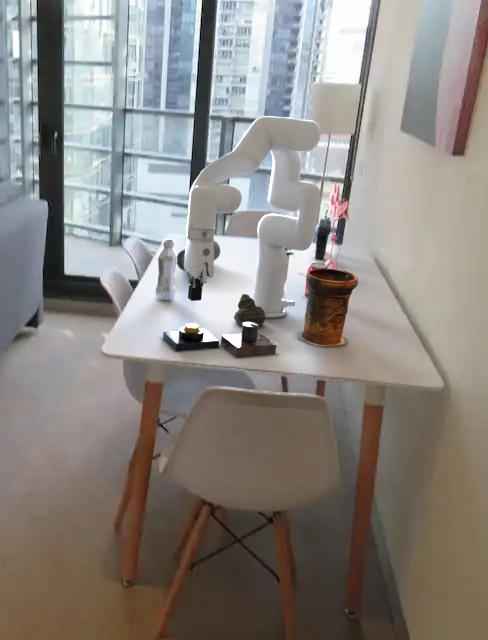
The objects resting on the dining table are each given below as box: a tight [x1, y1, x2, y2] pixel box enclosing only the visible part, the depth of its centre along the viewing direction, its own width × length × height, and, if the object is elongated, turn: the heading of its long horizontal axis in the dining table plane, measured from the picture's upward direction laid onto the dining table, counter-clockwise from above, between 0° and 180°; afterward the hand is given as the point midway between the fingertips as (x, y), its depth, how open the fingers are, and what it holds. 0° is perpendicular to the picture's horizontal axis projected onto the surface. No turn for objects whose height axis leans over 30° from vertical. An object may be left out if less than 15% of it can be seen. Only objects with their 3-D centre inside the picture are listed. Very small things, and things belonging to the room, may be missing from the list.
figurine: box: [300, 183, 350, 276], centre depth 275 cm, size 15×26×35 cm, turn 174°
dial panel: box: [220, 332, 277, 359], centre depth 201 cm, size 12×10×3 cm
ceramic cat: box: [313, 209, 332, 261], centre depth 308 cm, size 20×6×20 cm, turn 164°
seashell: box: [233, 293, 266, 328], centre depth 220 cm, size 11×12×10 cm
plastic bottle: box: [155, 239, 178, 301], centre depth 239 cm, size 6×7×20 cm
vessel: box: [296, 267, 359, 347], centre depth 208 cm, size 14×14×20 cm
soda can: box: [303, 262, 329, 300], centre depth 249 cm, size 7×7×12 cm
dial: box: [240, 322, 260, 342], centre depth 200 cm, size 4×4×5 cm
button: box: [184, 322, 200, 333], centre depth 203 cm, size 4×4×2 cm
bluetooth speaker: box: [176, 240, 221, 272], centre depth 280 cm, size 23×9×10 cm, turn 148°
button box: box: [162, 325, 220, 352], centre depth 204 cm, size 13×10×4 cm
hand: (194, 299), depth 199 cm, fingers closed
